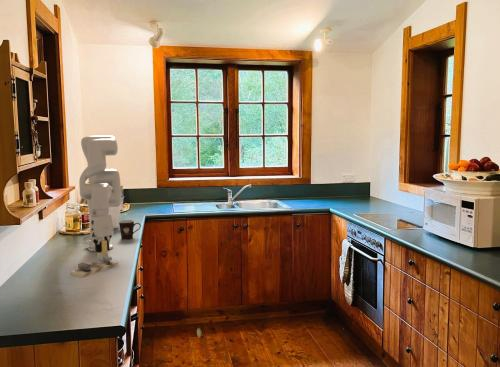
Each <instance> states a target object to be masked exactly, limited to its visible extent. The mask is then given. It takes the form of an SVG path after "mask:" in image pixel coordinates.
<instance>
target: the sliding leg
mask: <svg viewBox="0 0 500 367" xmlns="http://www.w3.org/2000/svg"><path fill="white" fill-rule="evenodd" d="M100 244H101V253H99V252H96V258H97V261H100V260H101V261H105V260H107V261H108V263H110V261H113V257H112V256H109V253H108V250H107V240H100Z"/></svg>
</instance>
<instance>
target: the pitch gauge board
mask: <svg viewBox="0 0 500 367" xmlns="http://www.w3.org/2000/svg"><path fill="white" fill-rule="evenodd" d="M116 265H118V266H119V262H118V261H113V260H110V263H108V261H107V260H105V261H101V260H97V261H94V262H91V263H86V262H80V263H78V264H77V267H75V268H74V269H73V270H70V272H69V273H70V275H71V276H75V277H80V278H84V277H87V276H91V275H94V274H97V273H99V272H103V271H106V270H108V268H109V269H111V267H112V268H114V266H115V267H117V266H116ZM105 269H106V270H105ZM102 270H103V271H102Z"/></svg>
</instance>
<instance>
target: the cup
mask: <svg viewBox="0 0 500 367" xmlns="http://www.w3.org/2000/svg"><path fill="white" fill-rule="evenodd" d="M122 201H123V200H122V198H121V204H120V206H117V207H109V214H111V217H112V222H113V229H118V228H119V227H120V226H119V221H120V216H121V209H122Z"/></svg>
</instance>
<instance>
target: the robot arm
mask: <svg viewBox="0 0 500 367" xmlns="http://www.w3.org/2000/svg"><path fill="white" fill-rule="evenodd" d="M80 141H81V142H80V143H81V144H80V145H81V150H82V154H83V155H84V157H85V159H86V162H87V167H86V168H85V169H84V170H83V171H82V172H81V175H80V176H79V181H78V182H79V183H78V184H79V187H78V188H79V195H80V198H81V199H83V200H85V201H87V202H86V203H87V208H88V216H89V218H88V219H89V233H90V235H89V237H88V239H86V240H85V242H84V244H85V245H88V246H87V250H88V251H90V252H96V253H98V252H99V253H101V244H100V240H107V251H109V250H112V249H113V248H114V247H113V244H111V243H110V241H111V238H112V237H113V236H114V235H115V231H114V228H113V222H112V217H111V214H109V207H117V206H120V204H121V205H122V202H121V199H122V189H121V187H122V186H121V177H120V173H119V171H118V170H117V169H116V168H115V169H114V168H110V169H109V168H107V158H106V157H109V156H110V157H111V156H116V155H117V154H118V149H119V148H118V143H117V139H116V137H115V136H113V135H86V136H84V137H82V138H81V140H80ZM87 180H88V183H86V181H87Z"/></svg>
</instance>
